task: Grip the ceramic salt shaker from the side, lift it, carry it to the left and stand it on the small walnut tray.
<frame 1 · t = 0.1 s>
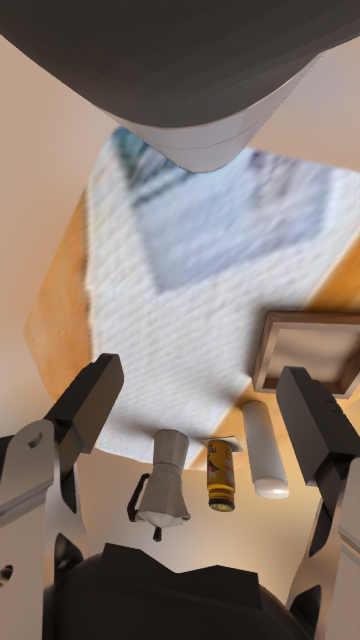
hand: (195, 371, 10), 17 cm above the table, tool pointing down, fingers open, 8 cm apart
coffeepot: (168, 438, 51), on the table
condiment: (222, 443, 49), on the table
tray: (306, 351, 29), on the table
salt shaker: (254, 408, 39), on the table
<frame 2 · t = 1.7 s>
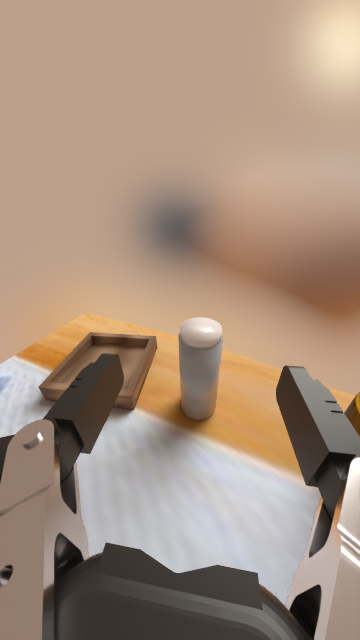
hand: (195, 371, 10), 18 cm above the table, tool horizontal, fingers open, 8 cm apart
condiment: (346, 459, 22), on the table
tray: (109, 369, 34), on the table
salt shaker: (198, 403, 28), on the table
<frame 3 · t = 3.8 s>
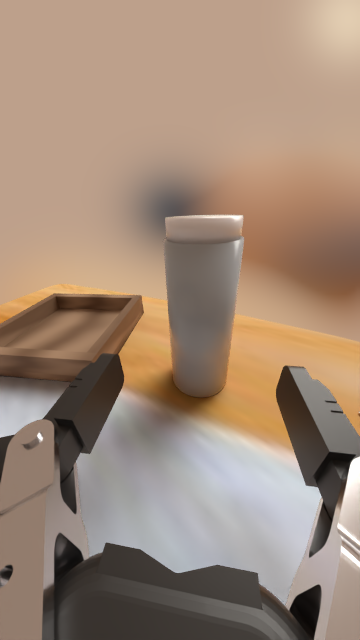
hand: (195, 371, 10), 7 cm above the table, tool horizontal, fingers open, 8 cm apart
tray: (74, 336, 25), on the table
salt shaker: (199, 375, 18), on the table
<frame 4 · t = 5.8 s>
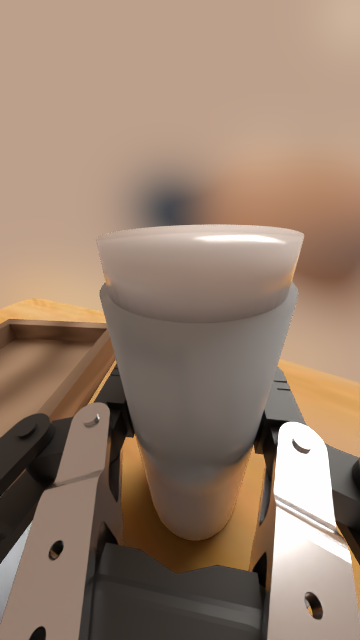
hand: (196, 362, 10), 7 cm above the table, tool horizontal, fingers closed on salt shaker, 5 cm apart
tray: (22, 386, 18), on the table
salt shaker: (192, 477, 11), on the table, touching gripper
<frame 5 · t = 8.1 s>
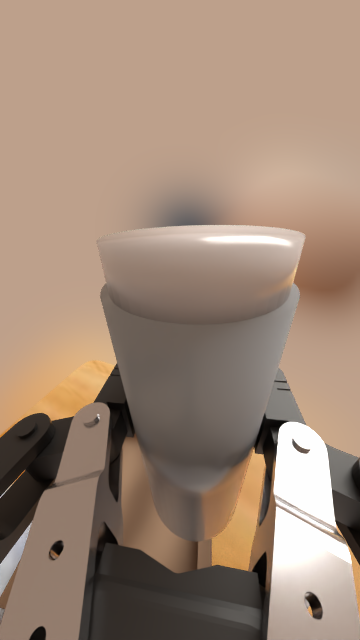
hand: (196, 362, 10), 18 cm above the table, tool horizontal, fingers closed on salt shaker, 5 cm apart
tray: (138, 501, 19), on the table
salt shaker: (193, 478, 11), point 11 cm above the table, touching gripper
when the fingers open (9 cm above the table, at t = 10.7 s): salt shaker drops 1 cm, resting on tray.
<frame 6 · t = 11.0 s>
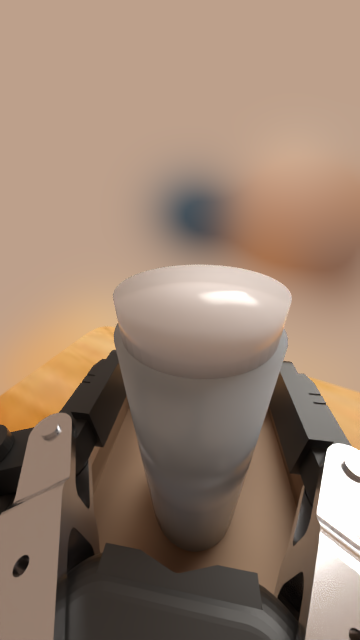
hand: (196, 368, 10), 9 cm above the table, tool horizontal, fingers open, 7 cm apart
tray: (192, 492, 12), on the table
salt shaker: (192, 489, 12), point 1 cm above the table, touching tray
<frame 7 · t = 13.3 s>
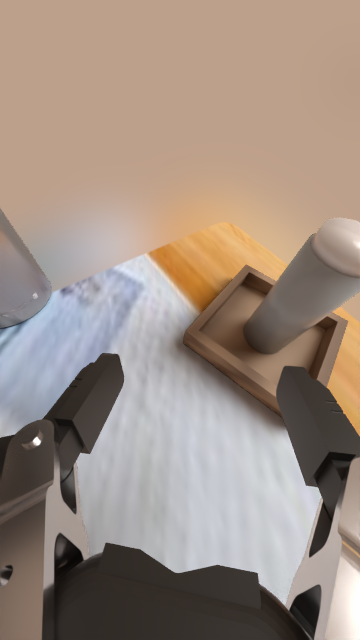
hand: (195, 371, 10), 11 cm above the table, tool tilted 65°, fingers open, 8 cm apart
tray: (261, 337, 24), on the table
salt shaker: (263, 334, 23), point 1 cm above the table, touching tray
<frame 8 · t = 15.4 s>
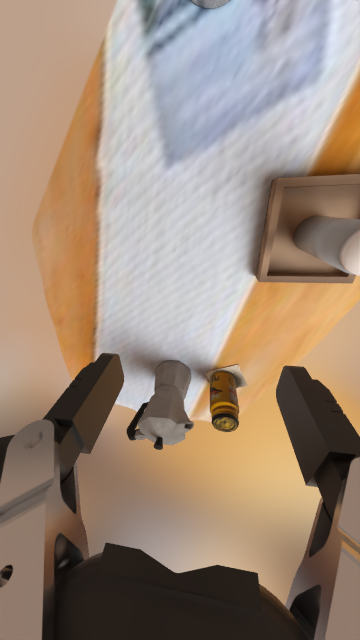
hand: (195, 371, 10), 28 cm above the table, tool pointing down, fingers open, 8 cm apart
coffeepot: (170, 373, 50), on the table
condiment: (225, 377, 48), on the table
tray: (310, 233, 30), on the table
salt shaker: (311, 234, 29), point 1 cm above the table, touching tray
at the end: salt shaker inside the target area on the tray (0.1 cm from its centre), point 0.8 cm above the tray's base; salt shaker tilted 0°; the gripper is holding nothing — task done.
